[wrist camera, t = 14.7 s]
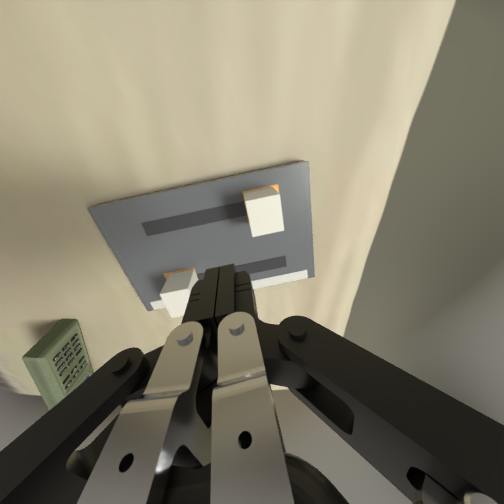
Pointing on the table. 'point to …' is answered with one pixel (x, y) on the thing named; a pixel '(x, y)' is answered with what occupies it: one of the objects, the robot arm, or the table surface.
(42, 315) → the table surface
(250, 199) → the inner switch
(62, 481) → the robot arm
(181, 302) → the outer switch
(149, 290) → the switch panel
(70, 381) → the handheld radio
